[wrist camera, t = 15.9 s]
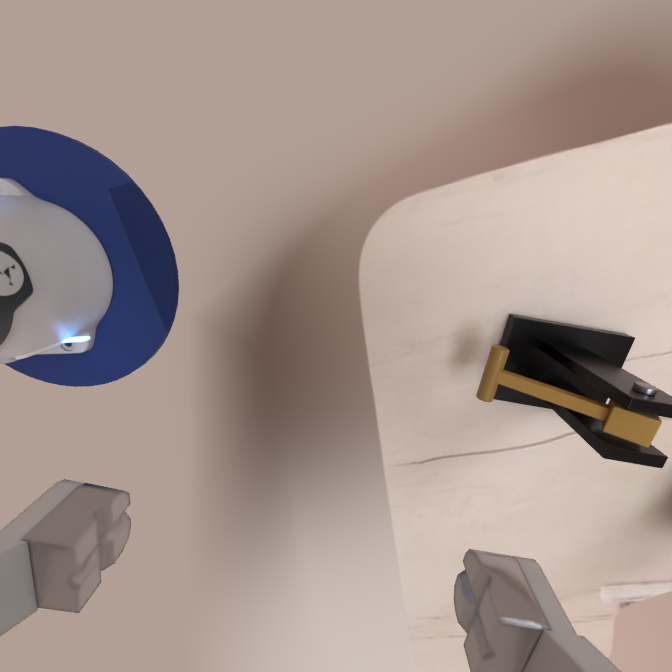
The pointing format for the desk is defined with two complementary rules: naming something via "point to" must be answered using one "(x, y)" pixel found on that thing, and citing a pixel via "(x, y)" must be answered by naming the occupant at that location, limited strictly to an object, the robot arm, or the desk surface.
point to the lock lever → (568, 401)
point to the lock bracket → (582, 379)
